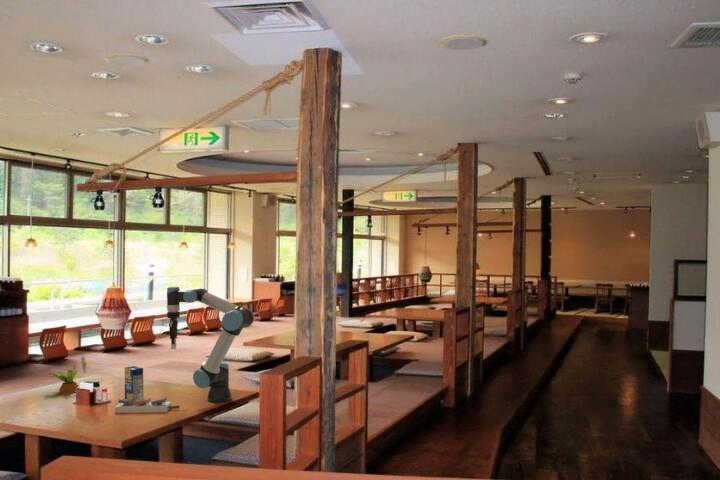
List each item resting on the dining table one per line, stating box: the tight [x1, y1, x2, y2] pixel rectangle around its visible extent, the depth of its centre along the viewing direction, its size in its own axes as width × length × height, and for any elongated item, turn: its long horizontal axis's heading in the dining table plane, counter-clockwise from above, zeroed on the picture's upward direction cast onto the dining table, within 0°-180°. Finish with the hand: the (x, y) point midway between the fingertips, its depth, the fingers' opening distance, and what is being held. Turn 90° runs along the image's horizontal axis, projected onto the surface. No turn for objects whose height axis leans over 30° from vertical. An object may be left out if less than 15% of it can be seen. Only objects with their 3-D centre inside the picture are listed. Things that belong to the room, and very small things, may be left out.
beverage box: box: [124, 365, 144, 401], centre depth 416 cm, size 7×11×22 cm, turn 45°
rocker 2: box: [135, 397, 152, 405], centre depth 397 cm, size 8×4×2 cm, turn 91°
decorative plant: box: [48, 355, 88, 395], centre depth 452 cm, size 27×24×25 cm
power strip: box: [114, 401, 180, 414], centre depth 399 cm, size 36×11×4 cm, turn 91°
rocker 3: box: [150, 397, 167, 405], centre depth 397 cm, size 8×4×2 cm, turn 91°
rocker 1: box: [118, 397, 135, 405], centre depth 397 cm, size 8×4×2 cm, turn 91°
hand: (173, 349), depth 422 cm, fingers closed
